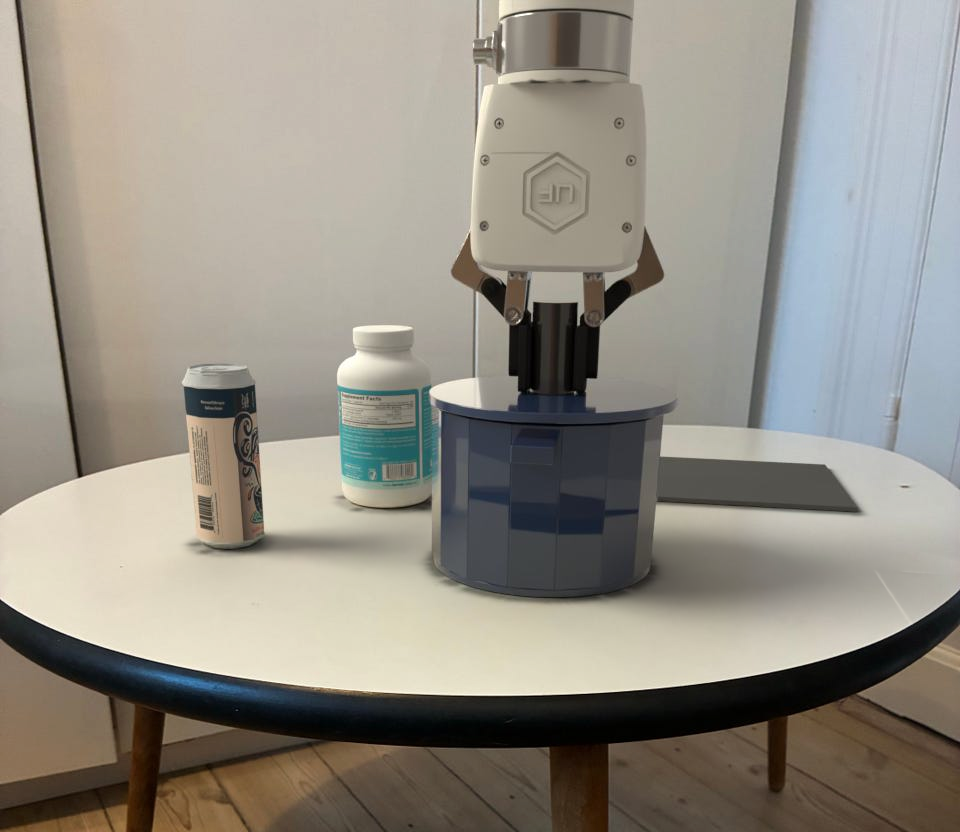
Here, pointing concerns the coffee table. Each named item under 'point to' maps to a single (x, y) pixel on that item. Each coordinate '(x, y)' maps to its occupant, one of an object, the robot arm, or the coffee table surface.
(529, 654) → the coffee table surface
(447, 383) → the lid
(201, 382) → the beer can
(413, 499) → the pill bottle
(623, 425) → the pot
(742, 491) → the trivet
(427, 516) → the coffee table surface
